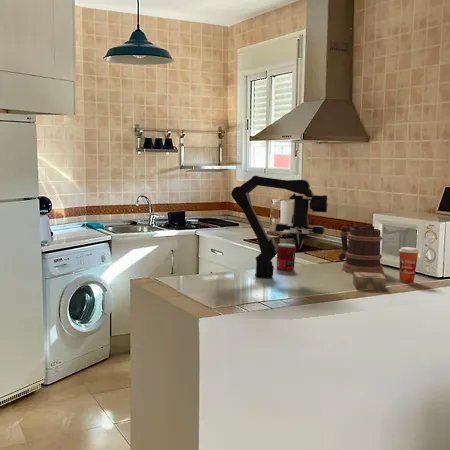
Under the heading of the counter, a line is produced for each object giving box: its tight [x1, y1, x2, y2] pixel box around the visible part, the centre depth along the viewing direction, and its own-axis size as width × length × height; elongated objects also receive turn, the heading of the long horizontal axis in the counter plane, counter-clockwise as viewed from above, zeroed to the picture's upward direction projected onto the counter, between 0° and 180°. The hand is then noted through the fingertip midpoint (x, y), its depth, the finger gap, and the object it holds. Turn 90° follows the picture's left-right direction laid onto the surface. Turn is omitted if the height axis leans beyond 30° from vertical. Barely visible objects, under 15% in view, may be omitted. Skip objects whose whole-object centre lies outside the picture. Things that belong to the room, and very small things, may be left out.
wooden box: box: [352, 272, 387, 292], centre depth 226 cm, size 5×10×11 cm
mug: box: [337, 225, 385, 275], centre depth 262 cm, size 18×23×20 cm
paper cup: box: [398, 246, 420, 284], centre depth 239 cm, size 8×8×14 cm
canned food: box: [275, 242, 296, 272], centre depth 256 cm, size 8×8×11 cm
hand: (298, 250), depth 234 cm, fingers closed
